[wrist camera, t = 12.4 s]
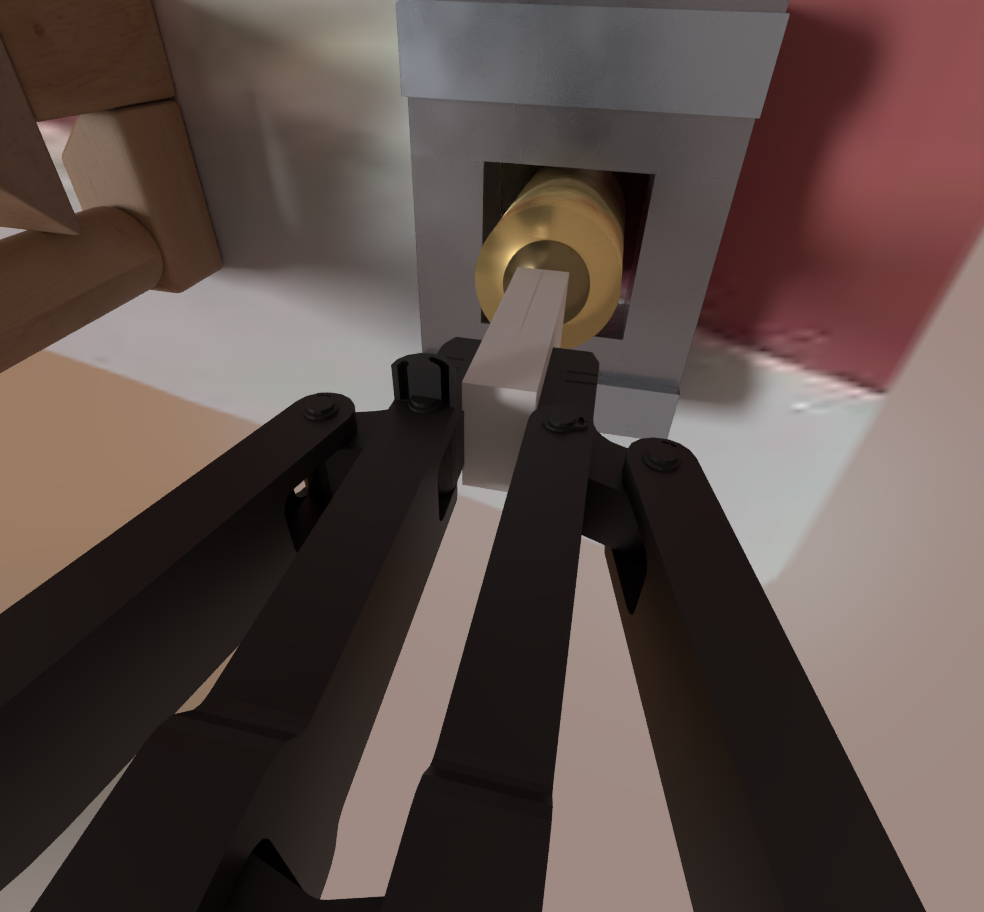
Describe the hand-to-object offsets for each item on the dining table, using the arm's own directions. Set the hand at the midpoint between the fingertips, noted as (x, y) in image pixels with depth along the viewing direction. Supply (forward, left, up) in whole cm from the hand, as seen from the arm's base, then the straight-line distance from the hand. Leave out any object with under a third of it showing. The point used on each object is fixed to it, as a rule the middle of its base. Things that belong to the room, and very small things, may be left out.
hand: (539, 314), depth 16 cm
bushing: (-1, 0, -9) cm, 9 cm away
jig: (0, 0, -9) cm, 9 cm away
